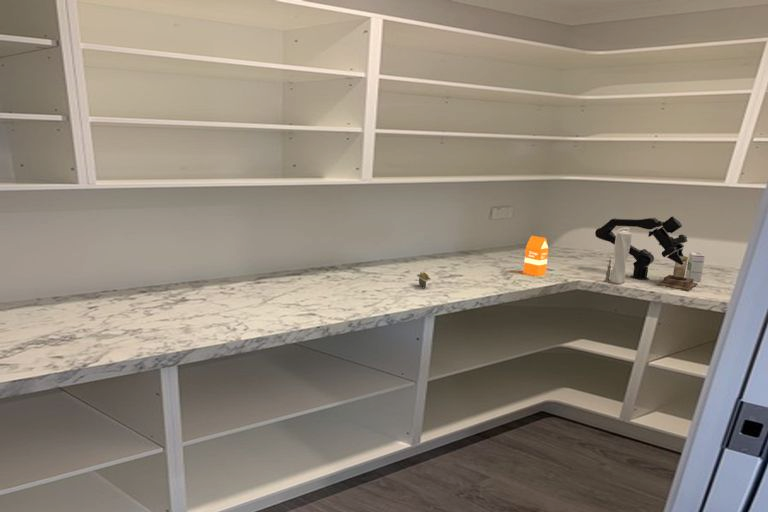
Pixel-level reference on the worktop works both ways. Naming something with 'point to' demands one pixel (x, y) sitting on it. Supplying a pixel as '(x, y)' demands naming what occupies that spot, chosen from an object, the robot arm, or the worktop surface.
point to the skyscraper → (619, 257)
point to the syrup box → (695, 266)
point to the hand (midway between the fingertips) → (684, 263)
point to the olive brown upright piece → (423, 279)
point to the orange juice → (536, 256)
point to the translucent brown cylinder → (680, 267)
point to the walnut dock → (677, 282)
